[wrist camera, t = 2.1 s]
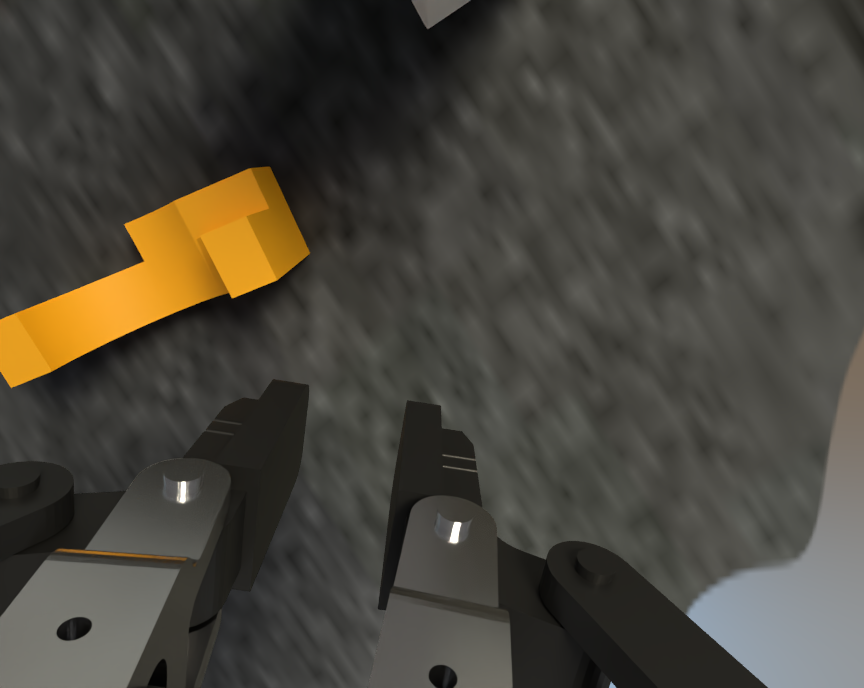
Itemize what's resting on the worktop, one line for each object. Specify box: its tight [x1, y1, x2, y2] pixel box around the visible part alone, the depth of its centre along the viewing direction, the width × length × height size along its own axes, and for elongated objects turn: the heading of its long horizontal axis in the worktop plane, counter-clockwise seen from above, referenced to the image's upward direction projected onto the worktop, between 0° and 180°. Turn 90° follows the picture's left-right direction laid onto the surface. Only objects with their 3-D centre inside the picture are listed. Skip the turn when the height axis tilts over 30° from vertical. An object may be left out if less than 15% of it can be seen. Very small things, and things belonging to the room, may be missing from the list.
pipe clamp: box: [0, 167, 310, 388], centre depth 25 cm, size 12×4×6 cm, turn 112°
